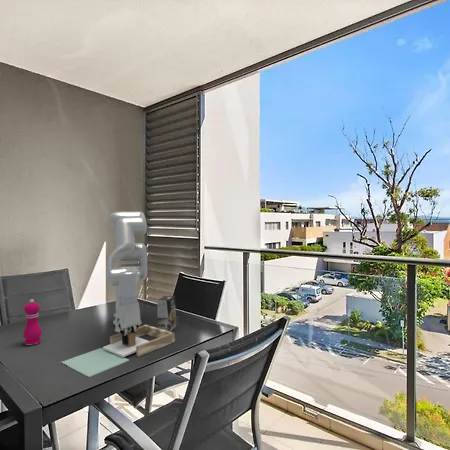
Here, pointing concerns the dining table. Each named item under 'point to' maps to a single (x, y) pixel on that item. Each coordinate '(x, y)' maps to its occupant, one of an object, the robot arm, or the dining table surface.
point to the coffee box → (166, 313)
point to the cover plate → (123, 348)
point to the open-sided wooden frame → (160, 341)
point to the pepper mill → (32, 323)
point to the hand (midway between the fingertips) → (129, 342)
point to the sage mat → (95, 362)
